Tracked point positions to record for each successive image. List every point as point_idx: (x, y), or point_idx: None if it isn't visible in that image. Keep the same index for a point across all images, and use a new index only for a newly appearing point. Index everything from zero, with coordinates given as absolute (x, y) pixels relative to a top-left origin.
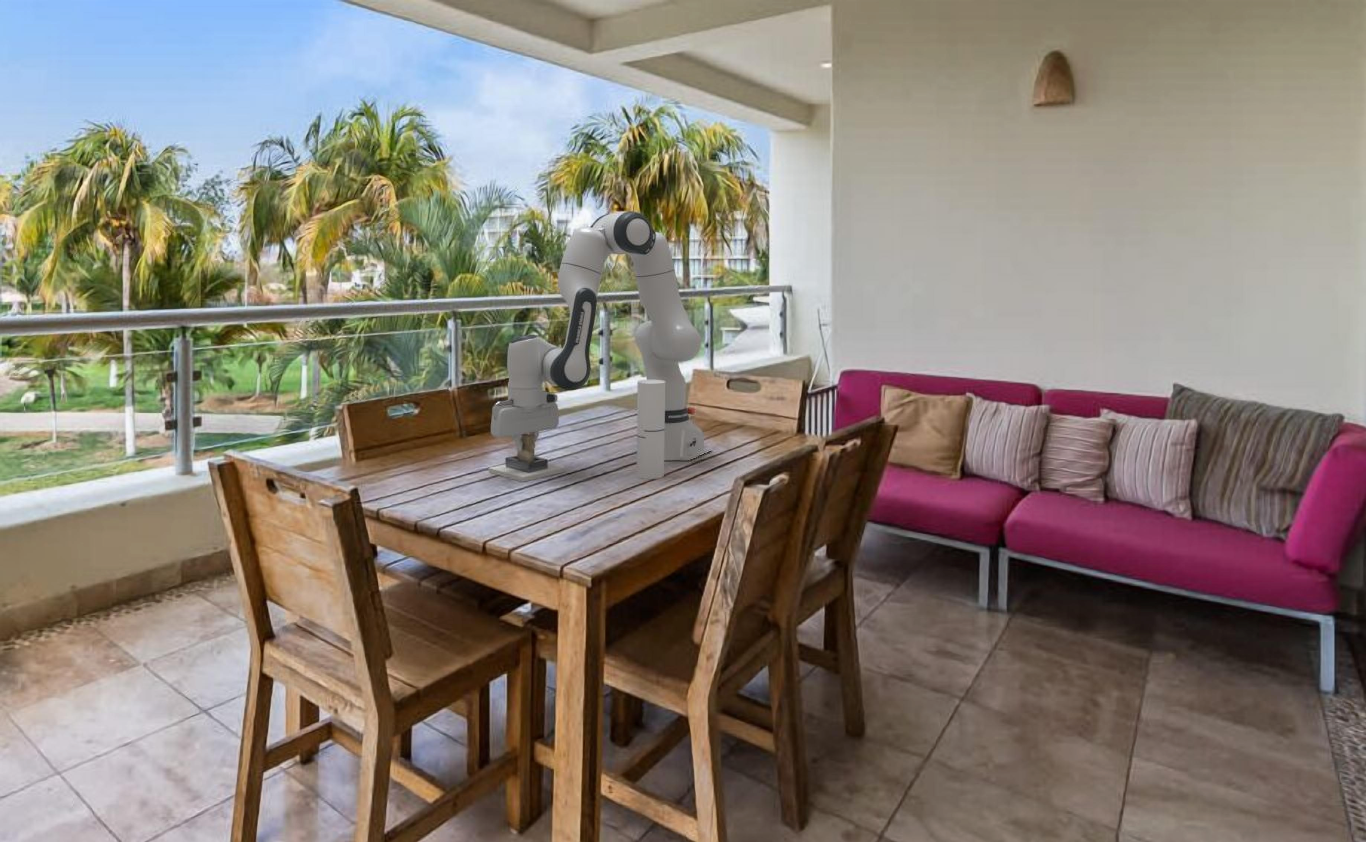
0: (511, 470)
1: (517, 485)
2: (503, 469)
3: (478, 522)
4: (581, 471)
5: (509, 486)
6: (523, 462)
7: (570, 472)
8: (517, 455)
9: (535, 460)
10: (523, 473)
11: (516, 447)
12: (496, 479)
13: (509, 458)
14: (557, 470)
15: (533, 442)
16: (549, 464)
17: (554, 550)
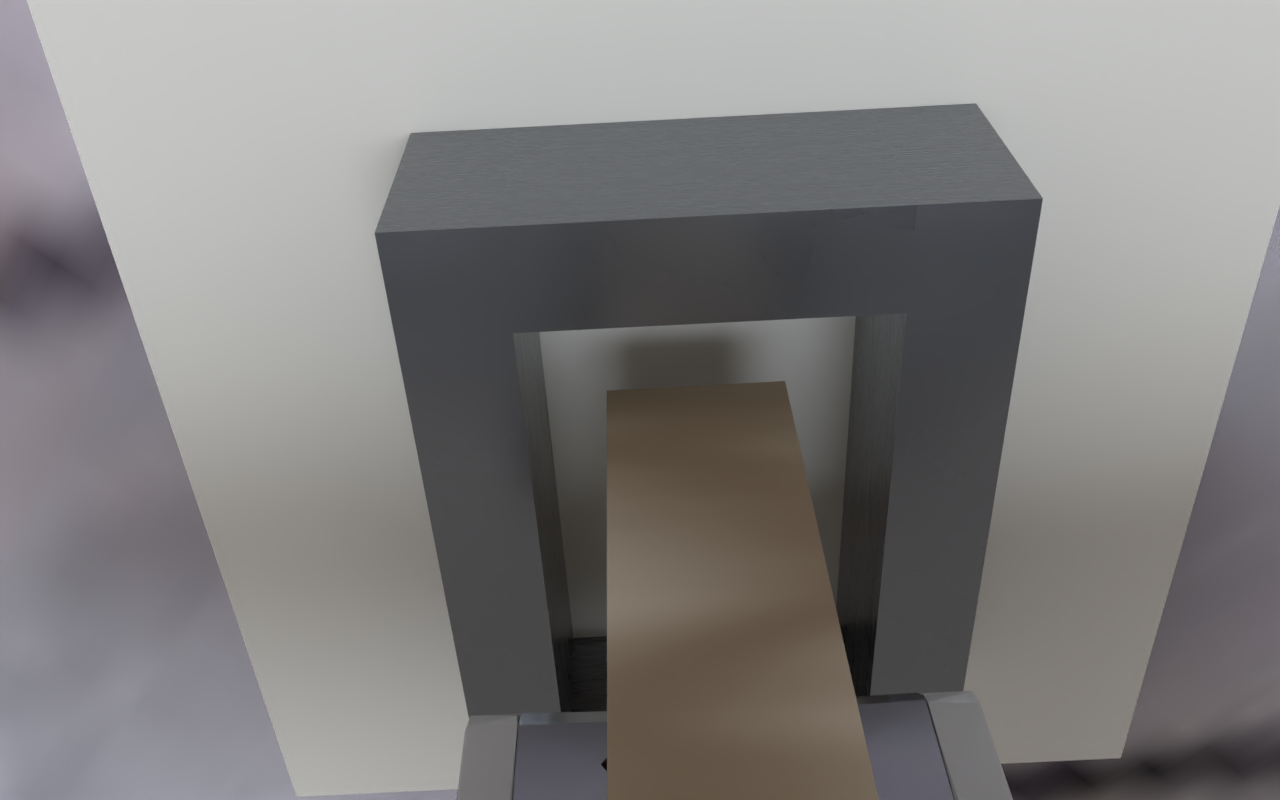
0: (354, 436)
1: (170, 796)
2: (259, 285)
3: None
4: (1255, 790)
5: (54, 777)
6: None
7: (1125, 752)
8: (609, 459)
9: (866, 602)
10: (422, 670)
11: (461, 767)
12: (13, 438)
13: (415, 362)
14: None
15: None
16: (1155, 517)
17: None
